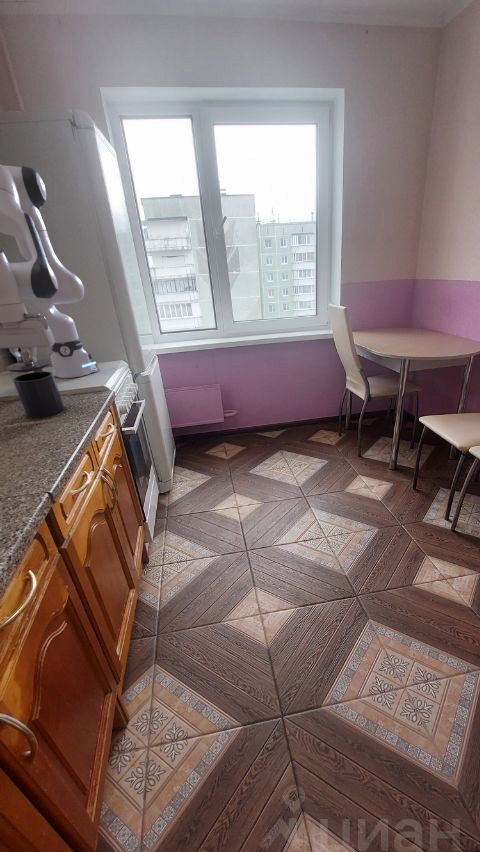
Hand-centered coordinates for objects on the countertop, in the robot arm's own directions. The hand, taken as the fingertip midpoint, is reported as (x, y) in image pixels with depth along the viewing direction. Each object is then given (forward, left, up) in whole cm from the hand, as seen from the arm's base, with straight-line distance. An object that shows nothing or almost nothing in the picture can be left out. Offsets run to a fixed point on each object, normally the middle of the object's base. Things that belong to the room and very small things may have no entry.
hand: (27, 362), depth 118 cm
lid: (0, 0, -1) cm, 1 cm away
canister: (0, 0, -17) cm, 17 cm away
